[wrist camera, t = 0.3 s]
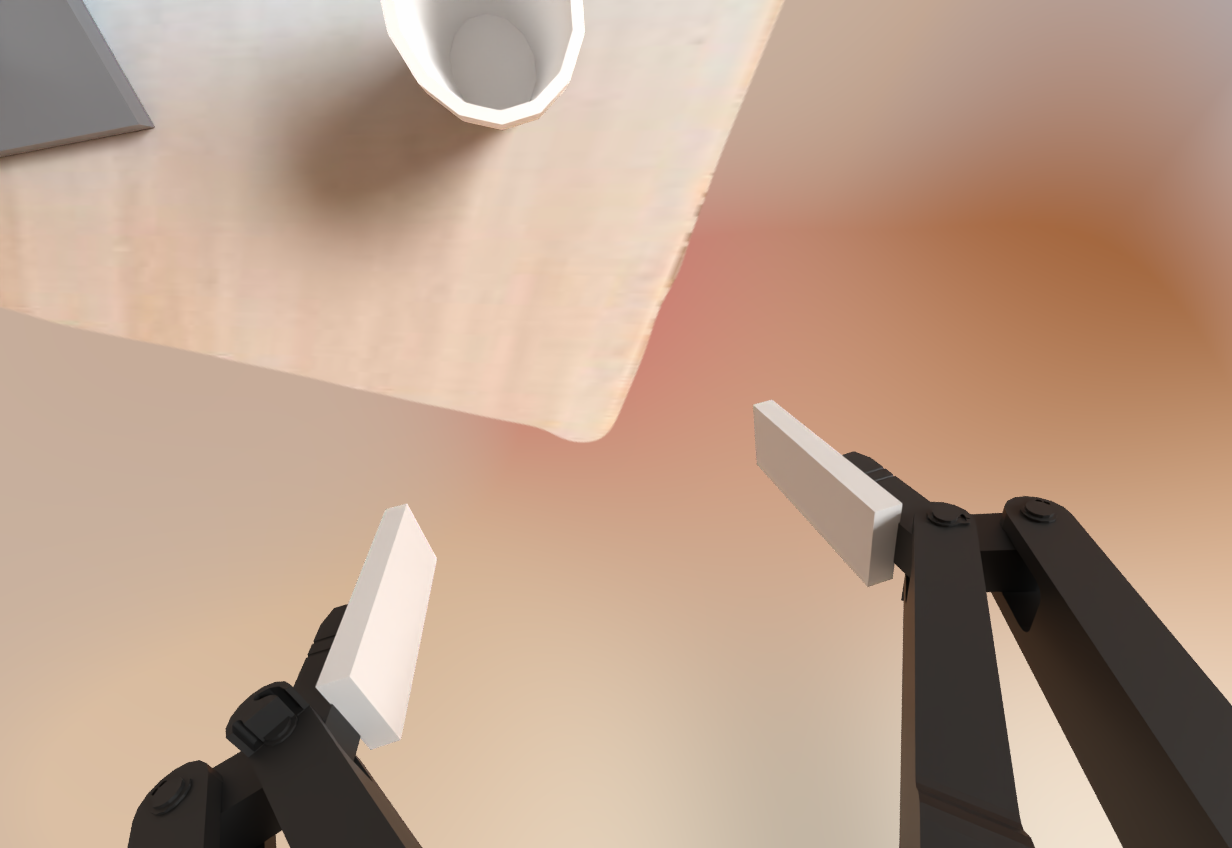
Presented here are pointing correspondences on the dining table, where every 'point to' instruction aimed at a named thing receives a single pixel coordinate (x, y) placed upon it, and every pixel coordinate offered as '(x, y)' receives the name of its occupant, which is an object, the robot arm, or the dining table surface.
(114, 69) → the base
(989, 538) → the robot arm
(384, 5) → the foam cup
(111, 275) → the dining table surface
